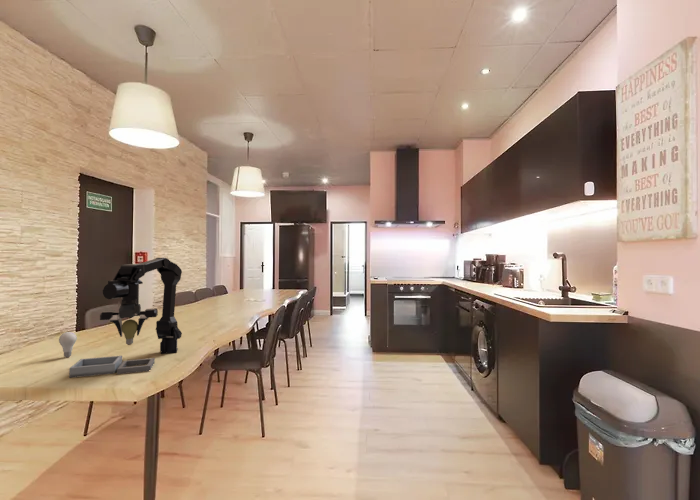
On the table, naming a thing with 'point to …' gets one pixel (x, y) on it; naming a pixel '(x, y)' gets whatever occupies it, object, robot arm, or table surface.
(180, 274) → the robot arm
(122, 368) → the socket collar
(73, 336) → the lightbulb
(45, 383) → the table surface
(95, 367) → the parts tray
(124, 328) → the light bulb
